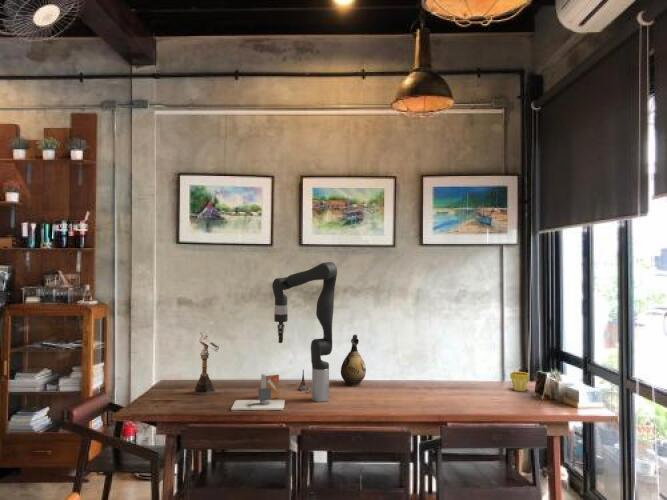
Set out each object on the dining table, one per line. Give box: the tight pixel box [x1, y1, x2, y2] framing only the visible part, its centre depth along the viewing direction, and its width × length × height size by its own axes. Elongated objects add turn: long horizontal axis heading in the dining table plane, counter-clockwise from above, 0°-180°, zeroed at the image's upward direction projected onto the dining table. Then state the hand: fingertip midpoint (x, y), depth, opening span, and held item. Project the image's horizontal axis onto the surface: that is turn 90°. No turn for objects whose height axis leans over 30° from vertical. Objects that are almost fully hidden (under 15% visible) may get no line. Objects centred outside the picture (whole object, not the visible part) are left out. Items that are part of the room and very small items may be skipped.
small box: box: [260, 372, 280, 400], centre depth 309 cm, size 8×6×13 cm
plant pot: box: [509, 371, 530, 392], centre depth 328 cm, size 10×10×10 cm
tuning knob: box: [248, 387, 272, 406], centre depth 288 cm, size 12×5×8 cm, turn 119°
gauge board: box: [230, 399, 286, 411], centre depth 290 cm, size 26×16×2 cm, turn 91°
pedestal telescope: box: [193, 332, 220, 396], centre depth 320 cm, size 17×13×35 cm
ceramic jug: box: [340, 334, 367, 387], centre depth 342 cm, size 17×15×30 cm
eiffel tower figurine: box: [296, 369, 312, 394], centre depth 326 cm, size 15×10×13 cm
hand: (280, 341), depth 316 cm, fingers open, 8 cm apart
